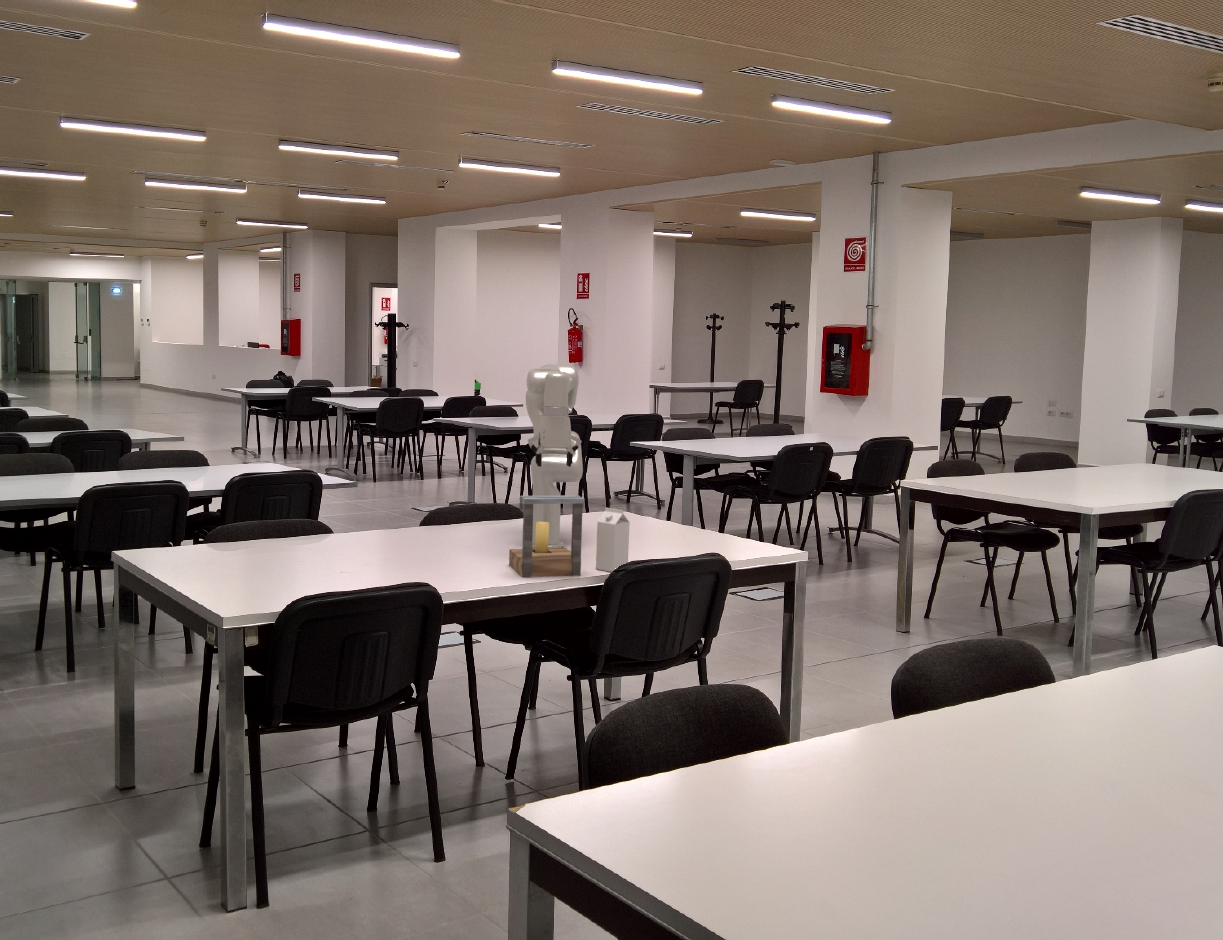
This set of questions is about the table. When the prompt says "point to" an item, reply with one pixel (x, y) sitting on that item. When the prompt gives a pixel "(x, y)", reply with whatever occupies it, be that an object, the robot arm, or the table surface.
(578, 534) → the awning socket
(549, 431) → the robot arm
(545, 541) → the peg
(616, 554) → the milk carton
